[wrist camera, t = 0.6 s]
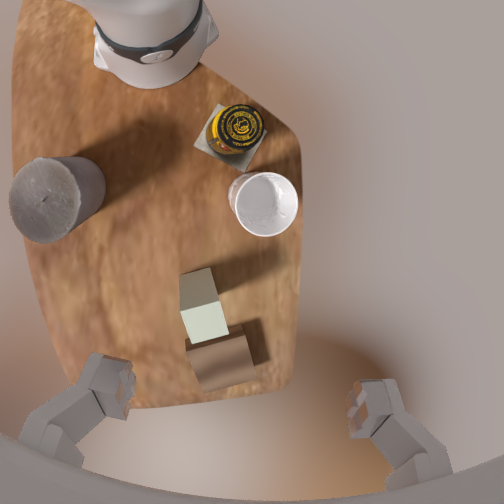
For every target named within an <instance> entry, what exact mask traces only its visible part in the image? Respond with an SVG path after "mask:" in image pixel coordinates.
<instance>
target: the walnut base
mask: <svg viewBox="0 0 504 504" xmlns="http://www.w3.org/2000/svg"><path fill="white" fill-rule="evenodd" d="M228 331H229V334H228V335H224V336H220V337H217V338H213V339H209V340H206V341H202V342H198V343H194V344H192V343H191V340H190V338H189V339H185V344H186V353H187V355H188V358H189V360H190V362H191V365H192V367H193V370H194V372H195V374H196V377H197V379H198V381H199V384H200V386H201V388H202V390H203V393H208V392H212V391H216V390H219V389H223V388H227V387H230V386H234V385H237V384H241V383H244V382H248V381H251V380H254V379H257V375H256V372H255V368H254V365H253V361H252V357H251V354H250V350H249V347H248V343H247V339H246V336H245V333H244V330H243V328H242V325H241V324H239V325H236V326H232V327H229V328H228Z"/></svg>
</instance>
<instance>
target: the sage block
mask: <svg viewBox="0 0 504 504" xmlns="http://www.w3.org/2000/svg"><path fill="white" fill-rule="evenodd" d="M179 290H180V313H181V315H182V318H183V321H184V324H185V327H186V329H187V332H188V335H189V338H190V340H191V343H192V344H194V343H198V342H202V341H206V340H209V339H213V338H217V337H220V336H224V335H228V334H229V331H228V328H227V325H226V321H225V318H224V314H223V311H222V307H221V304H220V300H219V297H218V294H217V290H216V287H215V283H214V280H213V276H212V273H211V269H210V267H209V268H206V269H202V270H198V271H195V272H191V273H187V274H183V275H180V276H179Z"/></svg>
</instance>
